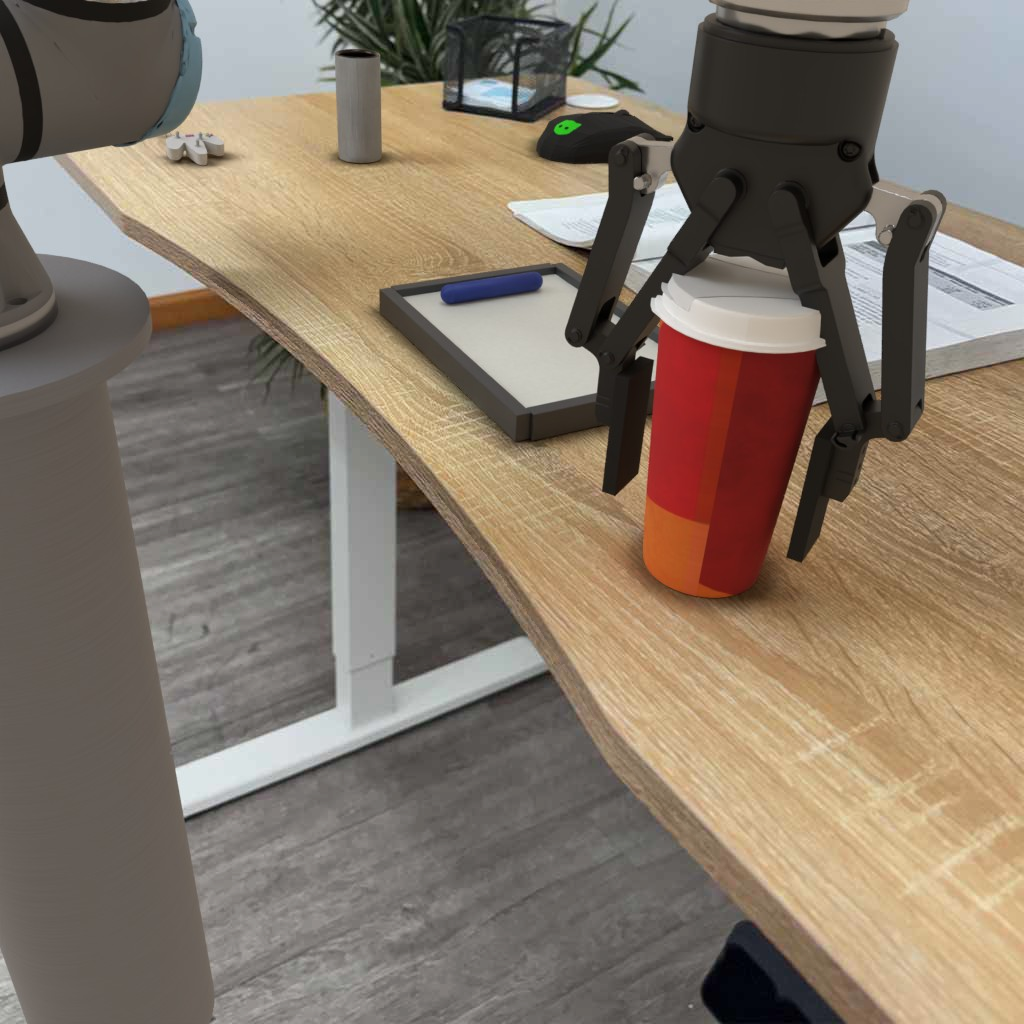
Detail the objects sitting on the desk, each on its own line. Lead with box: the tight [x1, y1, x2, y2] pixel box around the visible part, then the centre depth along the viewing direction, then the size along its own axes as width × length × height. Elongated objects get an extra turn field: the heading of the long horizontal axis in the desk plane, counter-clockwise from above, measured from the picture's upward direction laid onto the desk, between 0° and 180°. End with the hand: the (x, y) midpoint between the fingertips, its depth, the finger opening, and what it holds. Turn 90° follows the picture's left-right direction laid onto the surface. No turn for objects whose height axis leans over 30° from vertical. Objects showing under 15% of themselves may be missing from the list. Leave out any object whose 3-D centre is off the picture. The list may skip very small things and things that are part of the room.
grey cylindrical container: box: [334, 48, 383, 164], centre depth 109 cm, size 4×4×10 cm
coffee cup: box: [642, 253, 826, 599], centre depth 50 cm, size 8×8×15 cm
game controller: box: [165, 130, 225, 166], centre depth 109 cm, size 6×12×3 cm, turn 51°
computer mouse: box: [535, 108, 675, 165], centre depth 119 cm, size 11×16×4 cm
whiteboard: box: [378, 262, 660, 443], centre depth 73 cm, size 22×16×3 cm
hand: (708, 513), depth 52 cm, fingers open, 9 cm apart
